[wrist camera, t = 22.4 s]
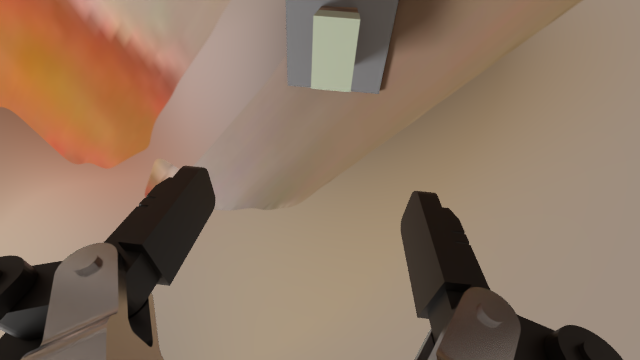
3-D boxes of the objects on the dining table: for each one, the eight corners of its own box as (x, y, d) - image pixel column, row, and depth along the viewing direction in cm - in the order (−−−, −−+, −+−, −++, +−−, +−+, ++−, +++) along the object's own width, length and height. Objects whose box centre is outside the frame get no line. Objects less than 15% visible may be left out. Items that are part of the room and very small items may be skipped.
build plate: (289, 83, 39) (287, 85, 38) (286, -34, 30) (284, -35, 29) (378, 91, 39) (378, 93, 38) (402, -25, 30) (403, -25, 29)
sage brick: (315, 74, 32) (310, 88, 28) (318, 9, 28) (313, 15, 24) (350, 77, 32) (350, 92, 28) (359, 12, 28) (360, 19, 24)
